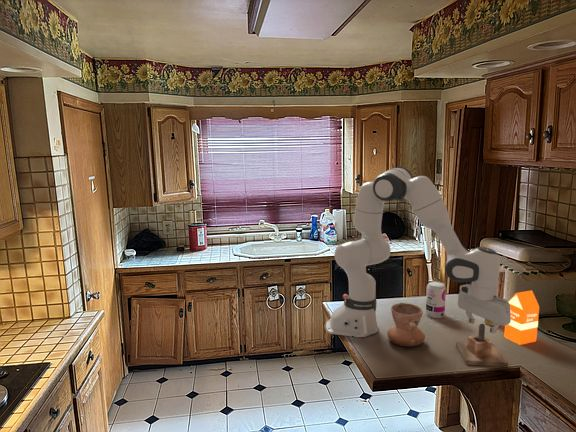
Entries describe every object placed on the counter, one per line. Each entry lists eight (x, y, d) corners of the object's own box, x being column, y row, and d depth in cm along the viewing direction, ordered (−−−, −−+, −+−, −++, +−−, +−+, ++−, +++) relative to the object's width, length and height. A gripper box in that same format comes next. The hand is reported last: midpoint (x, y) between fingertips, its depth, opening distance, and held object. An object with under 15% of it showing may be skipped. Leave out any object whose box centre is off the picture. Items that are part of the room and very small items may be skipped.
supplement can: (446, 313, 196) (447, 282, 194) (441, 320, 190) (443, 288, 187) (428, 310, 201) (429, 280, 198) (423, 316, 194) (424, 285, 191)
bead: (476, 356, 154) (477, 343, 153) (466, 348, 160) (467, 336, 159) (491, 355, 155) (492, 342, 154) (481, 347, 161) (482, 335, 160)
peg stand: (465, 364, 152) (467, 331, 150) (455, 345, 166) (457, 315, 163) (506, 366, 150) (509, 333, 148) (493, 347, 164) (495, 317, 162)
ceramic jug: (430, 351, 161) (432, 316, 159) (392, 352, 161) (394, 316, 159) (416, 332, 179) (417, 299, 177) (382, 332, 179) (383, 300, 177)
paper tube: (484, 325, 183) (488, 270, 179) (483, 319, 189) (487, 265, 185) (502, 328, 181) (506, 271, 176) (500, 321, 187) (504, 267, 183)
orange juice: (503, 336, 173) (507, 290, 169) (520, 333, 176) (524, 287, 172) (520, 345, 166) (524, 296, 162) (536, 341, 168) (541, 293, 165)
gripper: (516, 299, 146) (513, 337, 148) (467, 282, 164) (465, 316, 166) (504, 302, 143) (501, 341, 145) (456, 285, 161) (454, 319, 163)
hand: (481, 327), depth 156 cm, fingers open, 8 cm apart
